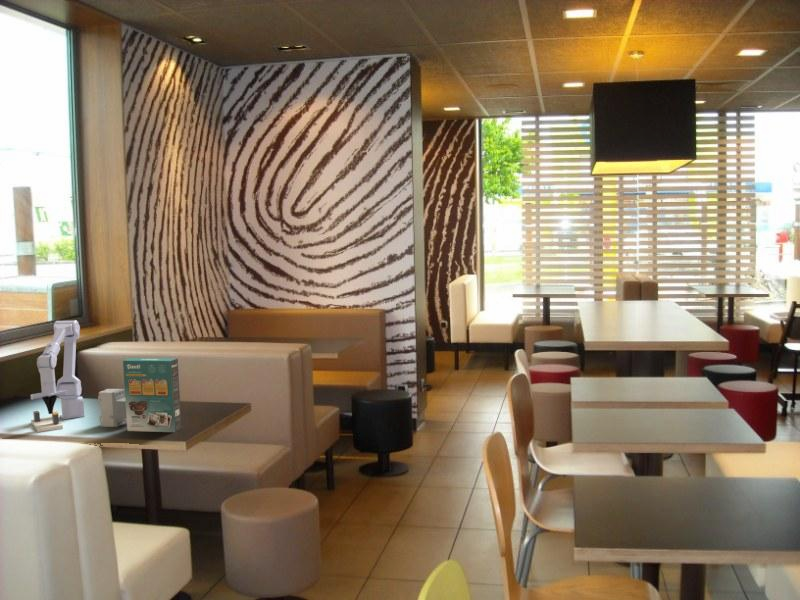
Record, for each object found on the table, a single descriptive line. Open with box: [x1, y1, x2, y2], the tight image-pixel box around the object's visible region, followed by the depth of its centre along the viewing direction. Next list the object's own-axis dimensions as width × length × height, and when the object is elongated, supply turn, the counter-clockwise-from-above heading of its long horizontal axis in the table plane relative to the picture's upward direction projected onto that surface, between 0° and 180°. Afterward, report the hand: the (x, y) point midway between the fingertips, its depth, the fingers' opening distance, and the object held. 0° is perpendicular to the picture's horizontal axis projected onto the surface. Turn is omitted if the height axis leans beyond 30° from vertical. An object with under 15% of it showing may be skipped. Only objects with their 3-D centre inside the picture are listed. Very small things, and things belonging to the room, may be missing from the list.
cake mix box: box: [122, 357, 182, 433], centre depth 358 cm, size 22×6×30 cm, turn 77°
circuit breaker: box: [97, 388, 127, 428], centre depth 370 cm, size 8×14×15 cm, turn 79°
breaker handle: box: [51, 411, 60, 424], centre depth 370 cm, size 2×4×5 cm, turn 31°
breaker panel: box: [30, 410, 64, 433], centre depth 373 cm, size 10×20×6 cm, turn 31°
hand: (50, 413), depth 369 cm, fingers closed
